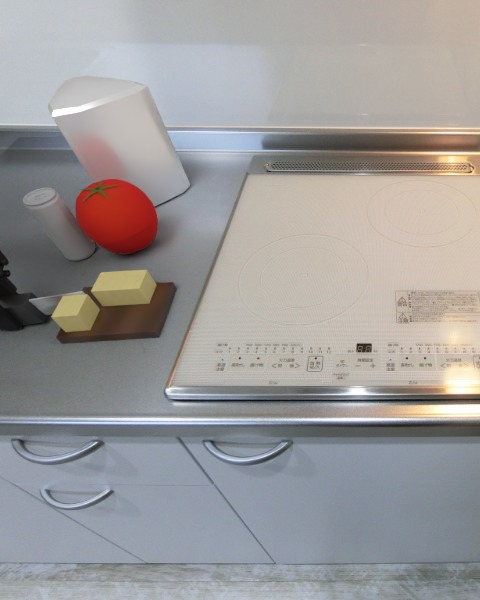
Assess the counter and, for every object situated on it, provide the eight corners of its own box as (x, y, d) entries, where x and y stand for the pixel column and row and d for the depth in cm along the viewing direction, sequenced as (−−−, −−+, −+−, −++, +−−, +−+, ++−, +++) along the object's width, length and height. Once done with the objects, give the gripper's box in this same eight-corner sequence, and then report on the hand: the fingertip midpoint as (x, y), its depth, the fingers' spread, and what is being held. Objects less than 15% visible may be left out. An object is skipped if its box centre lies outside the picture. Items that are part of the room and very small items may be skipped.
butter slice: (65, 332, 63) (50, 317, 61) (76, 311, 66) (62, 295, 63) (90, 330, 63) (76, 315, 61) (100, 309, 66) (87, 294, 63)
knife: (-14, 331, 66) (-38, 314, 62) (-6, 317, 67) (-28, 301, 64) (95, 314, 65) (77, 296, 62) (101, 301, 67) (84, 283, 64)
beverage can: (62, 253, 77) (17, 195, 68) (91, 240, 79) (50, 183, 70) (72, 266, 74) (26, 209, 65) (101, 253, 77) (60, 195, 68)
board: (61, 343, 64) (55, 337, 63) (88, 293, 70) (83, 286, 69) (159, 337, 64) (154, 331, 63) (177, 288, 71) (173, 281, 70)
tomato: (146, 219, 83) (112, 158, 73) (181, 240, 79) (150, 179, 69) (89, 252, 77) (44, 190, 67) (124, 277, 73) (81, 215, 63)
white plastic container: (193, 184, 90) (146, 73, 74) (151, 227, 81) (87, 111, 65) (130, 174, 93) (71, 65, 76) (83, 215, 84) (4, 100, 67)
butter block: (102, 306, 66) (90, 291, 64) (112, 287, 69) (100, 271, 66) (149, 303, 67) (139, 288, 64) (157, 284, 69) (147, 269, 67)
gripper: (-111, 152, 53) (17, 283, 71) (-220, 234, 43) (-39, 364, 61) (-47, 149, 54) (65, 280, 71) (-141, 230, 43) (17, 360, 61)
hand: (17, 319), depth 66 cm, fingers closed on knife, 3 cm apart
